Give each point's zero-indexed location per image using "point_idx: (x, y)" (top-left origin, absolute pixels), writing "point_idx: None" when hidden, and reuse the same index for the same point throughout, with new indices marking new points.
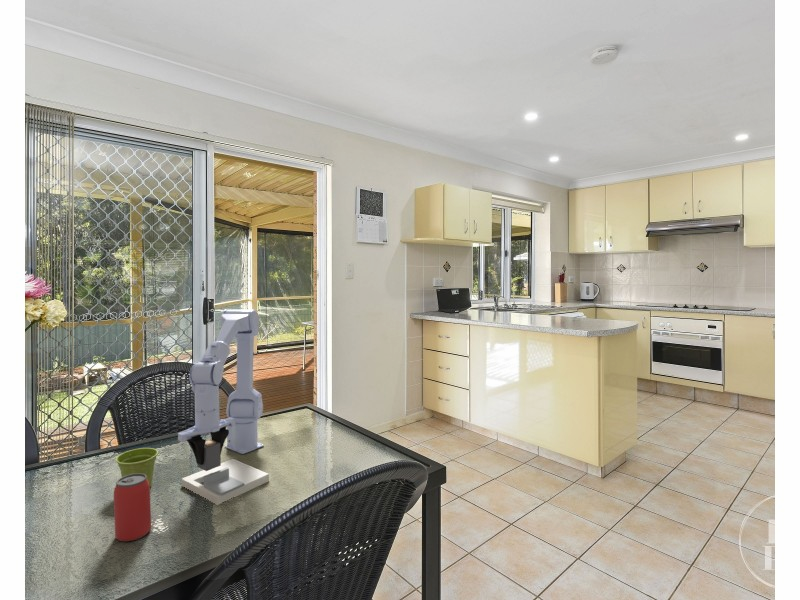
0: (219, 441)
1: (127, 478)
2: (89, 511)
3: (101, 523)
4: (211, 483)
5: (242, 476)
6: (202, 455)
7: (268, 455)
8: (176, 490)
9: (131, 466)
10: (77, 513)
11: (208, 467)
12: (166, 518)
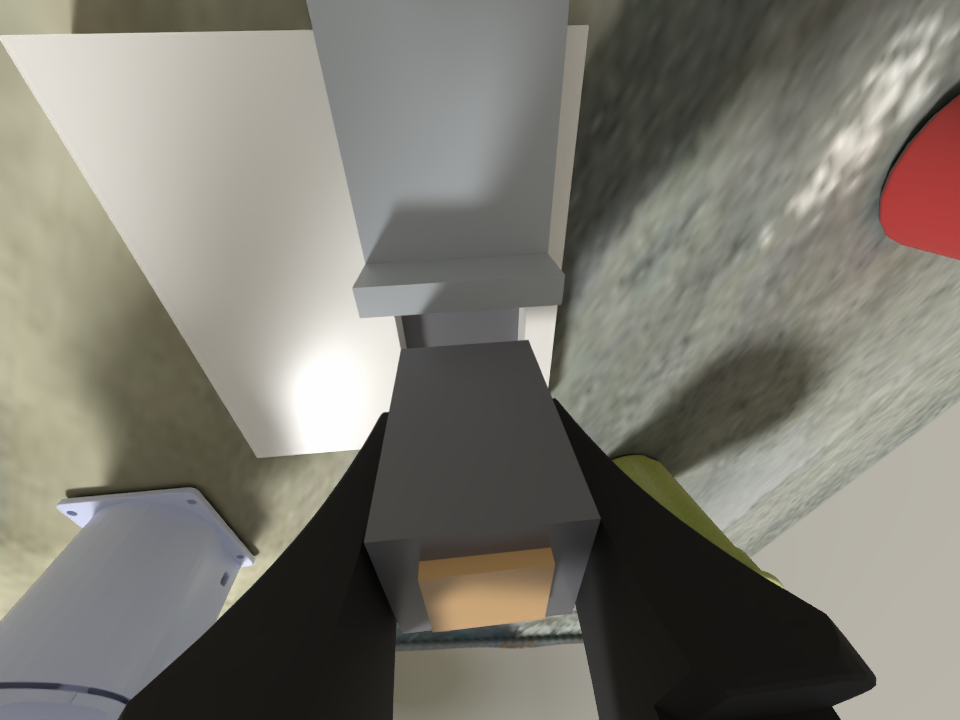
0: (358, 574)
1: None
2: (790, 442)
3: (861, 352)
4: (507, 256)
5: (271, 213)
6: (584, 454)
7: (41, 412)
8: (569, 390)
9: (753, 563)
10: (806, 451)
11: (511, 354)
12: (791, 175)
